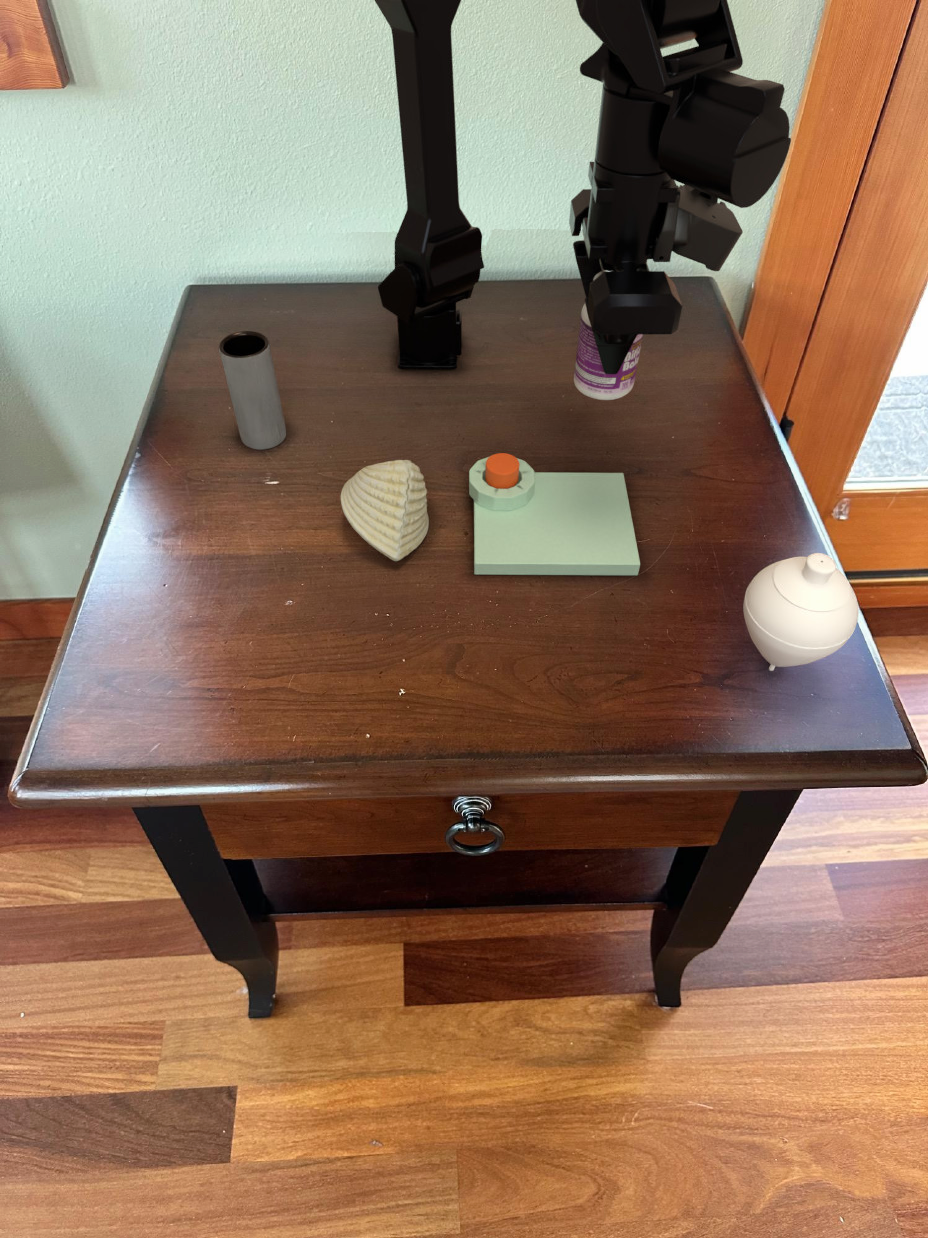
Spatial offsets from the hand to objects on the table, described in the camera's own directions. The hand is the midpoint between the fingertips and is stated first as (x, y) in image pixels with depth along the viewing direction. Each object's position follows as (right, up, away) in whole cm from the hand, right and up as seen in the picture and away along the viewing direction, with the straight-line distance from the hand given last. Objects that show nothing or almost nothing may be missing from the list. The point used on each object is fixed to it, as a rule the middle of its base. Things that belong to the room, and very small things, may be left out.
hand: (606, 354), depth 71 cm
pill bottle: (0, -2, +2) cm, 3 cm away
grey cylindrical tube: (-32, -4, +12) cm, 35 cm away
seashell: (-19, -14, +4) cm, 24 cm away
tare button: (-9, -10, +4) cm, 14 cm away
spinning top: (+12, -27, -7) cm, 30 cm away
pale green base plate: (-4, -14, +4) cm, 15 cm away
